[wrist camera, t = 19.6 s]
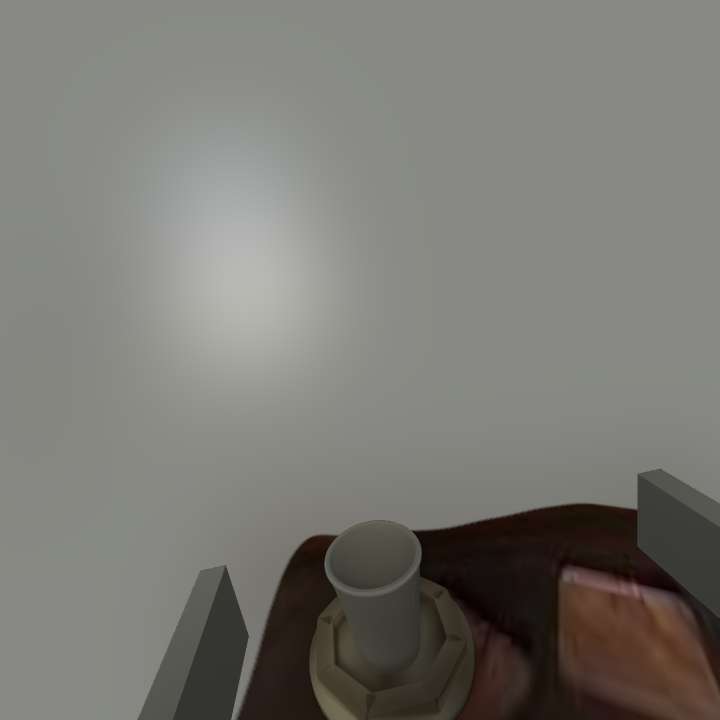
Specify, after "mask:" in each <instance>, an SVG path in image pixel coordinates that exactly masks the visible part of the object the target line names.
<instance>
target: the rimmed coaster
mask: <svg viewBox="0 0 720 720" xmlns="http://www.w3.org/2000/svg"><path fill="white" fill-rule="evenodd" d="M309 663H310V675H311V681H312V685H313V689H314V692H315V696H316V699H317V702H318V704H319V706H320V708H321V710H322V712H323V714H324V715H325V717H326V718H327V720H455V719H456V718H457V717H458V715H459V714H460V712H461V711H462V709H463V707H464V706H465V704H466V702H467V700H468V697H469V695H470V692H471V689H472V685H473V681H474V676H475V651H474V643H473V638H472V633H471V630H470V627H469V624H468V622H467V620H466V618H465V616H464V614H463V612H462V611H461V609H460V608H459V606H458V605H457V604H456V602H455V601H454V600H453V599H452V598H451V597H450V596H449V593H448V591H447V589H446V588H444V587H442V586H440V585H438V584H436V583H434V582H431V581H429V580H427V579H425V578H423V577H421V576H420V651H419V654H418V656H417V658H416V659H415V661H414V662H413V663H412V665H411V666H410V667H408V668H407V669H406V670H404V671H402V672H400V673H398V674H394V675H383V674H379V673H376V672H374V671H372V670H371V669H370V668H369V667H367V665H366V664H365V663H364V661H363V660H362V657H361V655H360V652H359V650H358V647H357V645H356V642H355V639H354V637H353V634H352V632H351V629H350V627H349V624H348V621H347V619H346V616H345V614H344V611H343V609H342V606H341V603H340V601H339V598H338V596H337V597H336V598H335V599H334V600H333V601H332V602H331V603H330V604H329V605H328V607H327V608H326V609H325V610H324V611H323V612H322V613H321V614H320V616H319V617H318V619H317V629H316V631H315V634H314V637H313V640H312V644H311V649H310V659H309Z"/></svg>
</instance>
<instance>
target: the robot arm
mask: <svg viewBox="0 0 720 720" xmlns="http://www.w3.org/2000/svg"><path fill="white" fill-rule="evenodd" d="M638 547H639V548H640V549H641V550H642V551H644V552H645V553H646V554H647V555H648V556H649V557H650V558H651V559H653V560H654V561H655V562H656V563H657V564H658V565H659V566H661V567H662V568H663V569H664V570H665V571H666V572H667V573H669V574H670V575H671V576H672V577H673V578H674V579H675V580H677V581H678V582H679V583H680V584H681V585H682V586H683V587H684V588H686V589H687V590H688V591H689V592H690V593H691V594H692V595H694V596H695V597H696V598H697V599H698V600H699V601H700V602H702V603H703V604H704V605H705V606H706V607H707V608H708V609H709V610H711V611H712V612H713V613H714V614H715V615H716V616H717V617H719V618H720V504H719V503H717V502H716V501H714V500H712V499H711V498H709V497H707V496H706V495H704V494H702V493H700V492H699V491H697V490H695V489H694V488H692V487H690V486H689V485H687V484H685V483H684V482H682V481H680V480H678V479H677V478H675V477H673V476H672V475H670V474H668V473H666V472H665V471H663V470H661V469H658V470H653V471H649V472H644V473H640V474H638ZM248 637H249V636H248V632H247V629H246V626H245V623H244V620H243V617H242V614H241V611H240V607H239V604H238V601H237V598H236V595H235V592H234V589H233V586H232V583H231V580H230V577H229V574H228V571H227V568H226V565H224V566H220V567H215V568H211V569H206V570H202V571H200V573H199V575H198V578H197V580H196V582H195V585H194V587H193V589H192V592H191V594H190V597H189V599H188V601H187V604H186V606H185V609H184V611H183V614H182V616H181V618H180V620H179V623H178V625H177V627H176V630H175V632H174V635H173V637H172V639H171V642H170V644H169V647H168V649H167V651H166V654H165V656H164V658H163V661H162V663H161V666H160V668H159V670H158V673H157V675H156V678H155V680H154V683H153V685H152V687H151V690H150V692H149V694H148V697H147V699H146V701H145V704H144V706H143V708H142V711H141V713H140V715H139V718H138V720H231V717H232V713H233V708H234V703H235V698H236V694H237V689H238V684H239V680H240V675H241V670H242V665H243V660H244V656H245V651H246V647H247V642H248Z"/></svg>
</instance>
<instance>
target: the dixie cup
mask: <svg viewBox="0 0 720 720" xmlns="http://www.w3.org/2000/svg"><path fill="white" fill-rule="evenodd" d="M421 556H422V551H421V546H420V543H419V540H418V539H417V537H416V536H415V534H414V533H413V532H412V531H411V530H409V529H408V528H407V527H405V526H403V525H401V524H398V523H395V522H391V521H385V520H374V521H368V522H363V523H360V524H357V525H355V526H353V527H351V528H349V529H347V530H346V531H344V532H343V533H342V534H340V535H339V536H338V537H337V538H336V539H335V540H334V541H333V543H332V544H331V545H330V547H329V549H328V551H327V553H326V557H325V571H326V575H327V577H328V579H329V580H330V582H331V583H332V584H333V585H334V588H335V591H336V593H337V596H338V598H339V601H340V603H341V606H342V609H343V611H344V614H345V616H346V619H347V621H348V624H349V627H350V629H351V632H352V634H353V637H354V639H355V642H356V645H357V647H358V650H359V652H360V655H361V657H362V660H363V661H364V663H365V664H366V665H367V667H369V668H370V669H371V670H372V671H374V672H376V673H379V674H383V675H394V674H398V673H400V672H402V671H404V670H406V669H407V668H408V667H410V666H411V665H412V663H413V662H414V661H415V659H416V658H417V656H418V654H419V651H420V568H419V565H420V562H421Z"/></svg>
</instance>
